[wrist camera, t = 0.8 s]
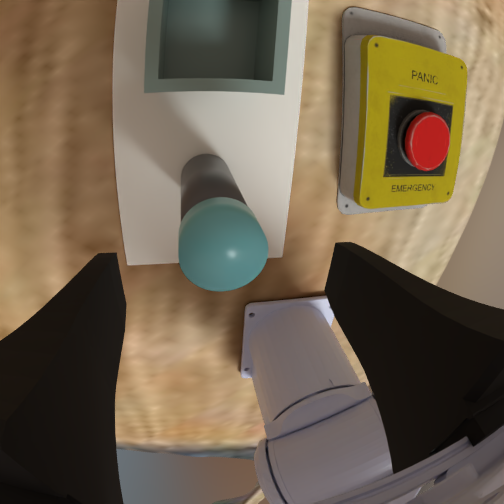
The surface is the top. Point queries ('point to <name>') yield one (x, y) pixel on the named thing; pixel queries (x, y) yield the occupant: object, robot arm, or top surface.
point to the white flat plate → (198, 141)
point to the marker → (217, 228)
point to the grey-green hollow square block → (217, 46)
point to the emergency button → (397, 114)
